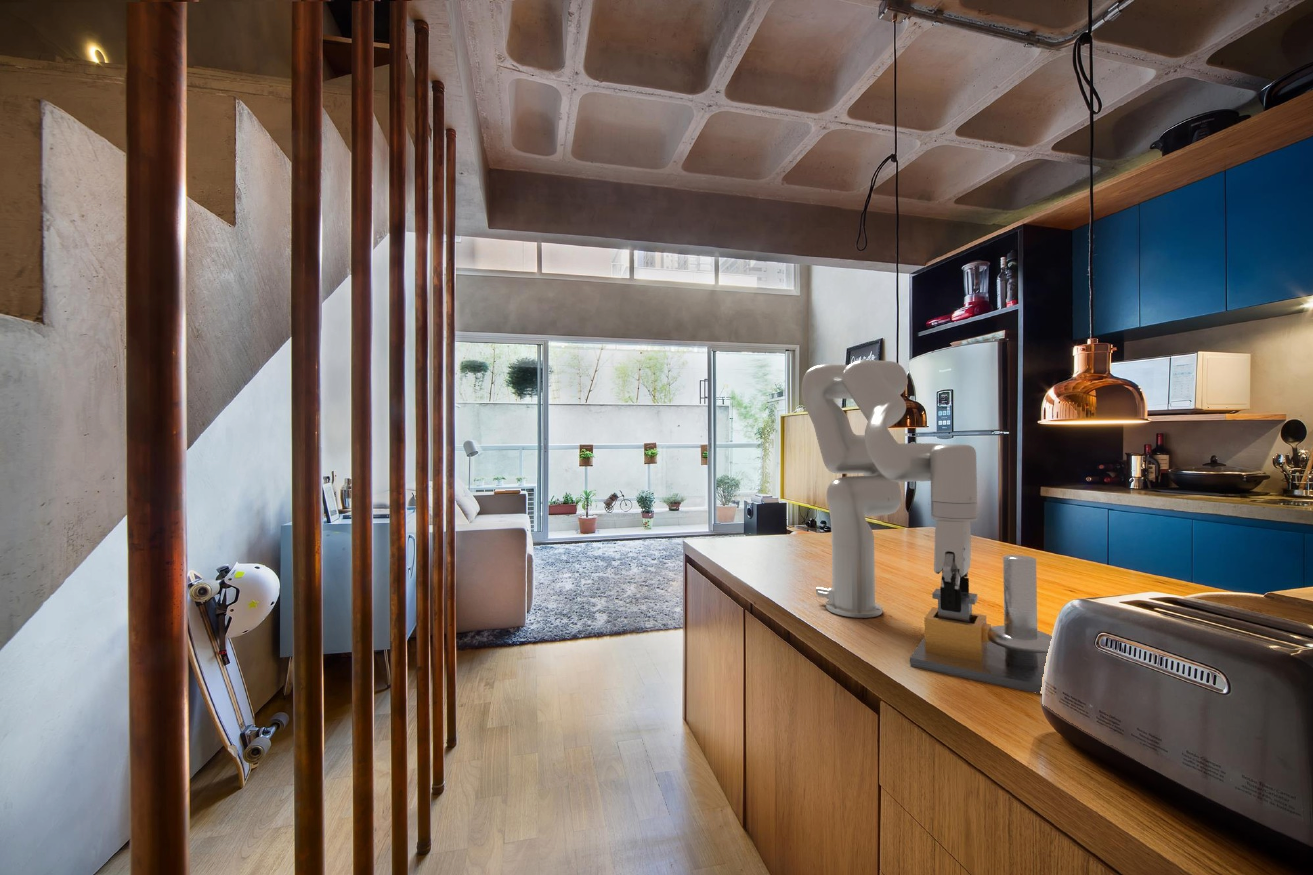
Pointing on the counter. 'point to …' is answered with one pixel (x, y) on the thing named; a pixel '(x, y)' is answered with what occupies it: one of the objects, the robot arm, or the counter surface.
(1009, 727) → the counter surface
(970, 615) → the tall grey pillar block
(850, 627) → the counter surface
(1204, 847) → the counter surface
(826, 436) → the robot arm
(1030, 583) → the post
